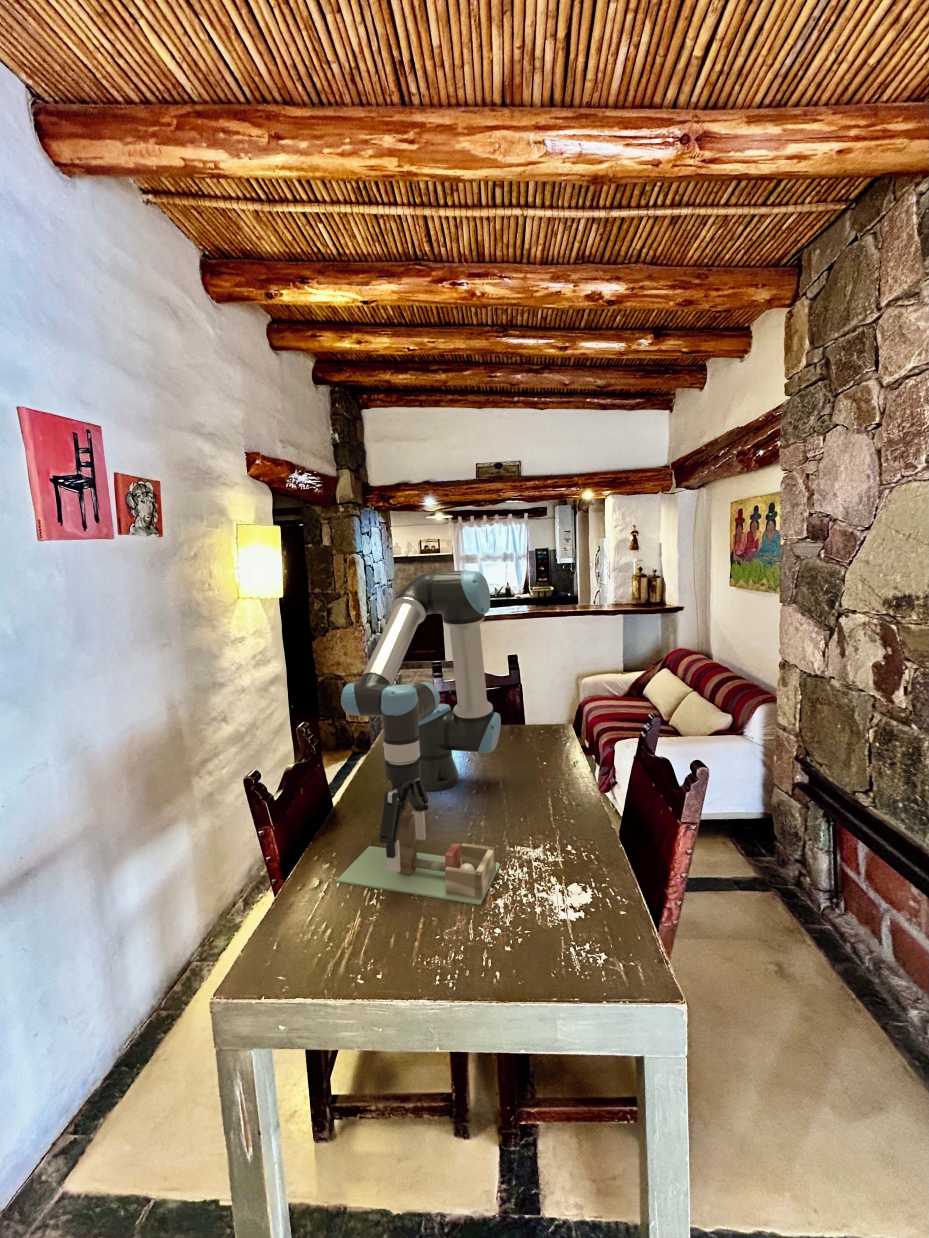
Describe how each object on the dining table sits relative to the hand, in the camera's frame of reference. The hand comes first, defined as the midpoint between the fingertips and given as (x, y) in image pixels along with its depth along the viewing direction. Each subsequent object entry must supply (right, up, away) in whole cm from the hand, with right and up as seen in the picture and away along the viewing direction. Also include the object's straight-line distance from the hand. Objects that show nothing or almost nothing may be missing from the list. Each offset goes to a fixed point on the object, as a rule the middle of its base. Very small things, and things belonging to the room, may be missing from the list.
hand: (407, 853), depth 126 cm
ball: (+13, -2, -4) cm, 14 cm away
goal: (+14, -4, -4) cm, 15 cm away
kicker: (+5, -4, -1) cm, 6 cm away
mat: (+3, -4, 0) cm, 5 cm away
